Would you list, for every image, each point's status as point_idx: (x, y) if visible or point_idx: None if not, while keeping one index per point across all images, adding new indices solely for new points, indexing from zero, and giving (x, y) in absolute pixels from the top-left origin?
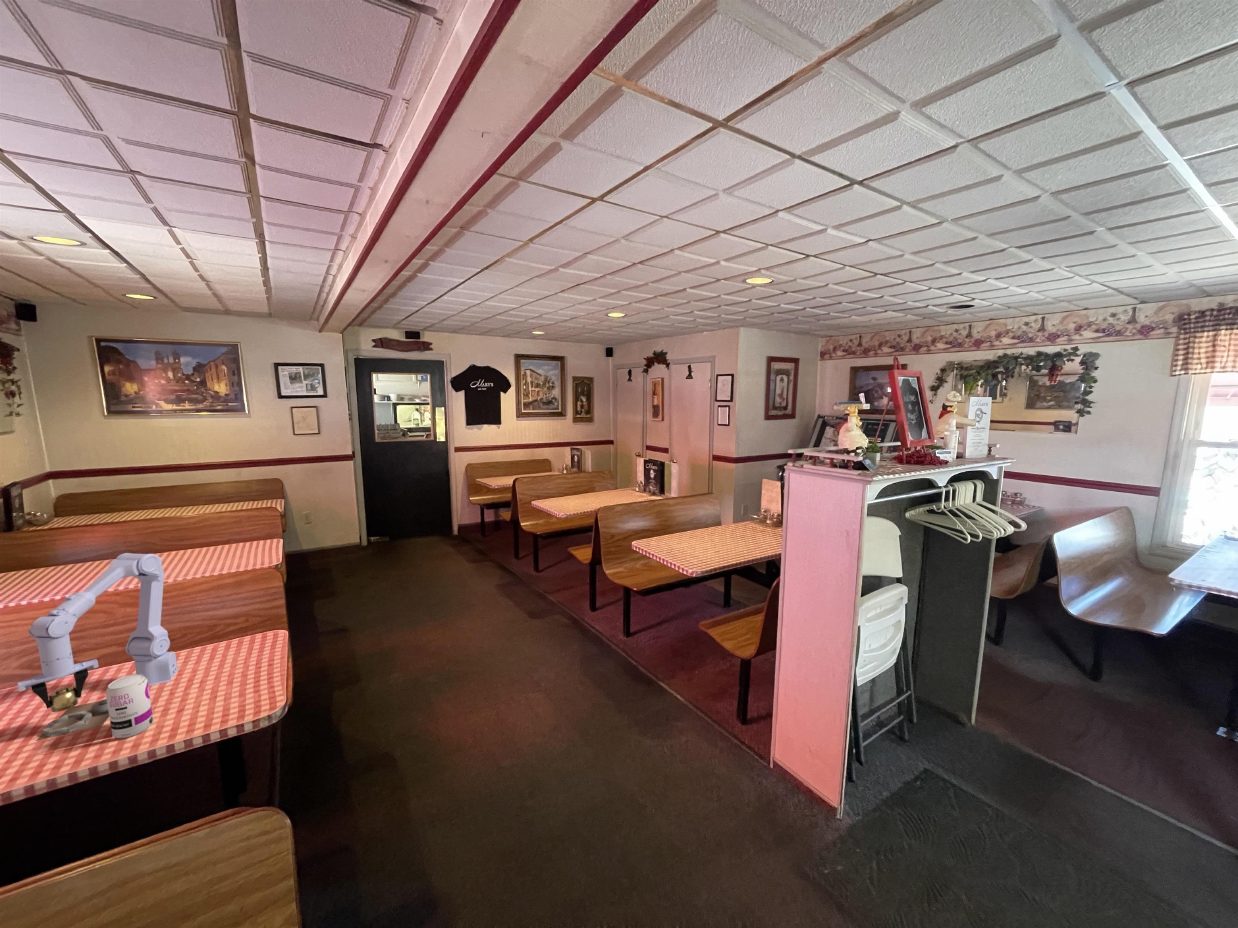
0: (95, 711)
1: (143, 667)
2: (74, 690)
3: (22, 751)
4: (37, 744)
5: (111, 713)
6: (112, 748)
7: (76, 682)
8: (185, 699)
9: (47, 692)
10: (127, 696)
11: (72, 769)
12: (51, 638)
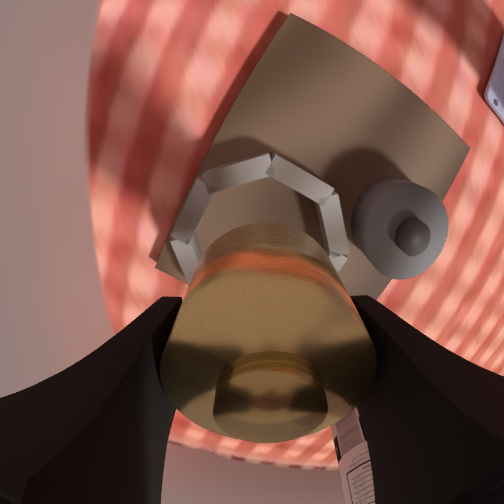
0: (364, 252)
1: None
2: (345, 408)
3: (128, 291)
4: (163, 281)
5: (343, 490)
6: (310, 440)
7: (380, 482)
8: (490, 340)
9: (160, 497)
10: None
11: (239, 451)
12: None
